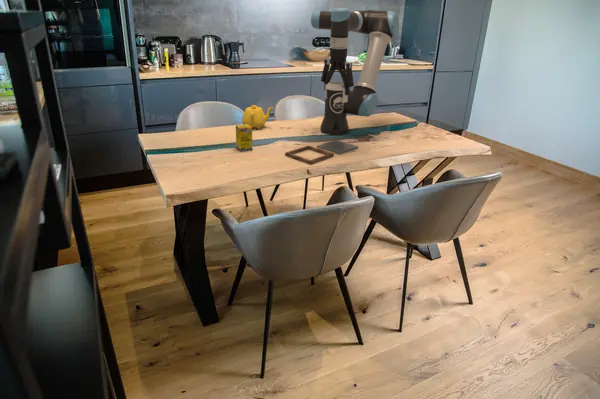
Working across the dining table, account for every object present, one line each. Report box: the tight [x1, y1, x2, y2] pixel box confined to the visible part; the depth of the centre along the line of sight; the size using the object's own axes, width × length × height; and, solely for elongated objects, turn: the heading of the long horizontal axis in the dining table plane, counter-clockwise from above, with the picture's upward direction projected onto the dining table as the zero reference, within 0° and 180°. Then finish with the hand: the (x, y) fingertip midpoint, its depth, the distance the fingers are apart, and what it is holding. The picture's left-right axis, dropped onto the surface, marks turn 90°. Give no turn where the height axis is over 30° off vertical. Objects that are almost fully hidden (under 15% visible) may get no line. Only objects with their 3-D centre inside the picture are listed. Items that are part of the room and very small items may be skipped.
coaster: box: [316, 139, 360, 155], centre depth 207 cm, size 14×14×1 cm
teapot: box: [241, 104, 274, 130], centre depth 232 cm, size 14×14×12 cm
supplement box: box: [235, 124, 253, 152], centre depth 199 cm, size 6×6×11 cm
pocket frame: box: [284, 145, 335, 166], centre depth 195 cm, size 15×15×2 cm
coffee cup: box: [326, 81, 345, 119], centre depth 196 cm, size 10×10×15 cm
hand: (336, 100), depth 196 cm, fingers closed on coffee cup, 9 cm apart
